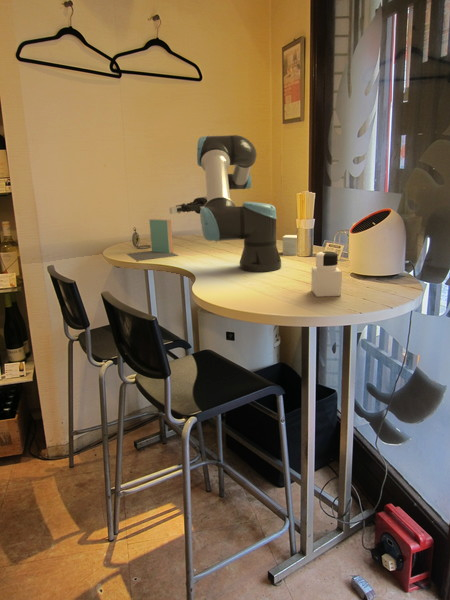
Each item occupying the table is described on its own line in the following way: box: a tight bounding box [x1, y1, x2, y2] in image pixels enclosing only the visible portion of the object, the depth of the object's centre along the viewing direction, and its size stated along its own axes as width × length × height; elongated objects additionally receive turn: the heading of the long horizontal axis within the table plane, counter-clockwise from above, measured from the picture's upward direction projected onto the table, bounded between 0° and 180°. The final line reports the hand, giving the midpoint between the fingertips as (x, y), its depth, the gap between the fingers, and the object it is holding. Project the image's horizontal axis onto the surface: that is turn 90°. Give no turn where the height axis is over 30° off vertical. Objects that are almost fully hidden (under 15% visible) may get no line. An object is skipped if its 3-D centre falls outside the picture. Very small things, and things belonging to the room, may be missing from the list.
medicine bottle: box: [310, 250, 343, 298], centre depth 134 cm, size 7×7×12 cm
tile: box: [149, 218, 174, 253], centre depth 204 cm, size 3×10×14 cm, turn 56°
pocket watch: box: [131, 226, 152, 250], centre depth 217 cm, size 8×8×10 cm
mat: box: [126, 250, 180, 263], centre depth 200 cm, size 18×18×1 cm
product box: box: [282, 234, 298, 256], centre depth 192 cm, size 6×6×7 cm
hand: (170, 210), depth 207 cm, fingers closed
